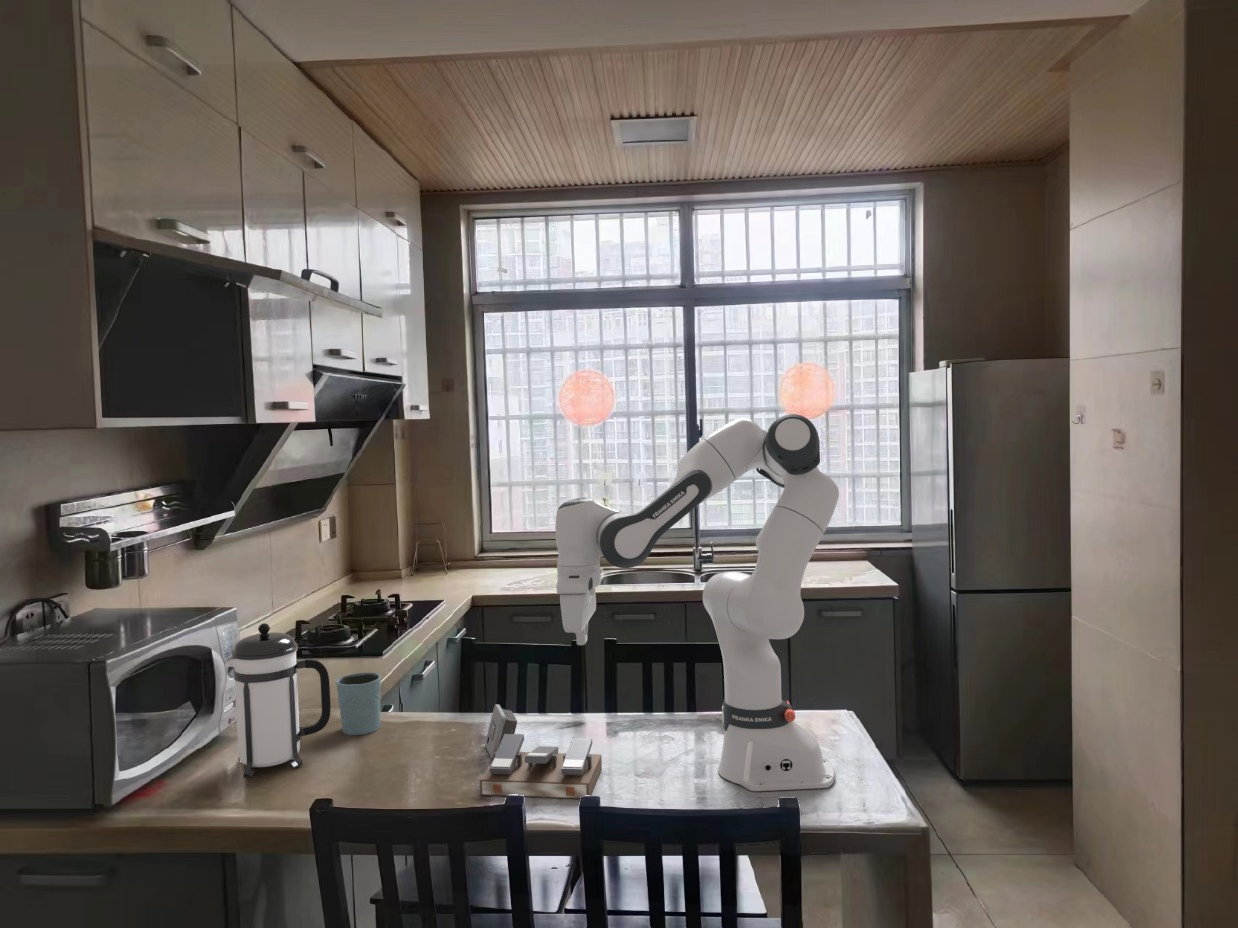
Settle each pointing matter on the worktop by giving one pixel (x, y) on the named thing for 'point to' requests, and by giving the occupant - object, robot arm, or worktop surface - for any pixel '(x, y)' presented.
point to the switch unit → (543, 779)
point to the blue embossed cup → (359, 702)
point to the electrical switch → (499, 728)
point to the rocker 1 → (507, 754)
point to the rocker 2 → (576, 756)
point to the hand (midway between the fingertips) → (582, 643)
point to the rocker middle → (541, 754)
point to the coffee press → (271, 699)
